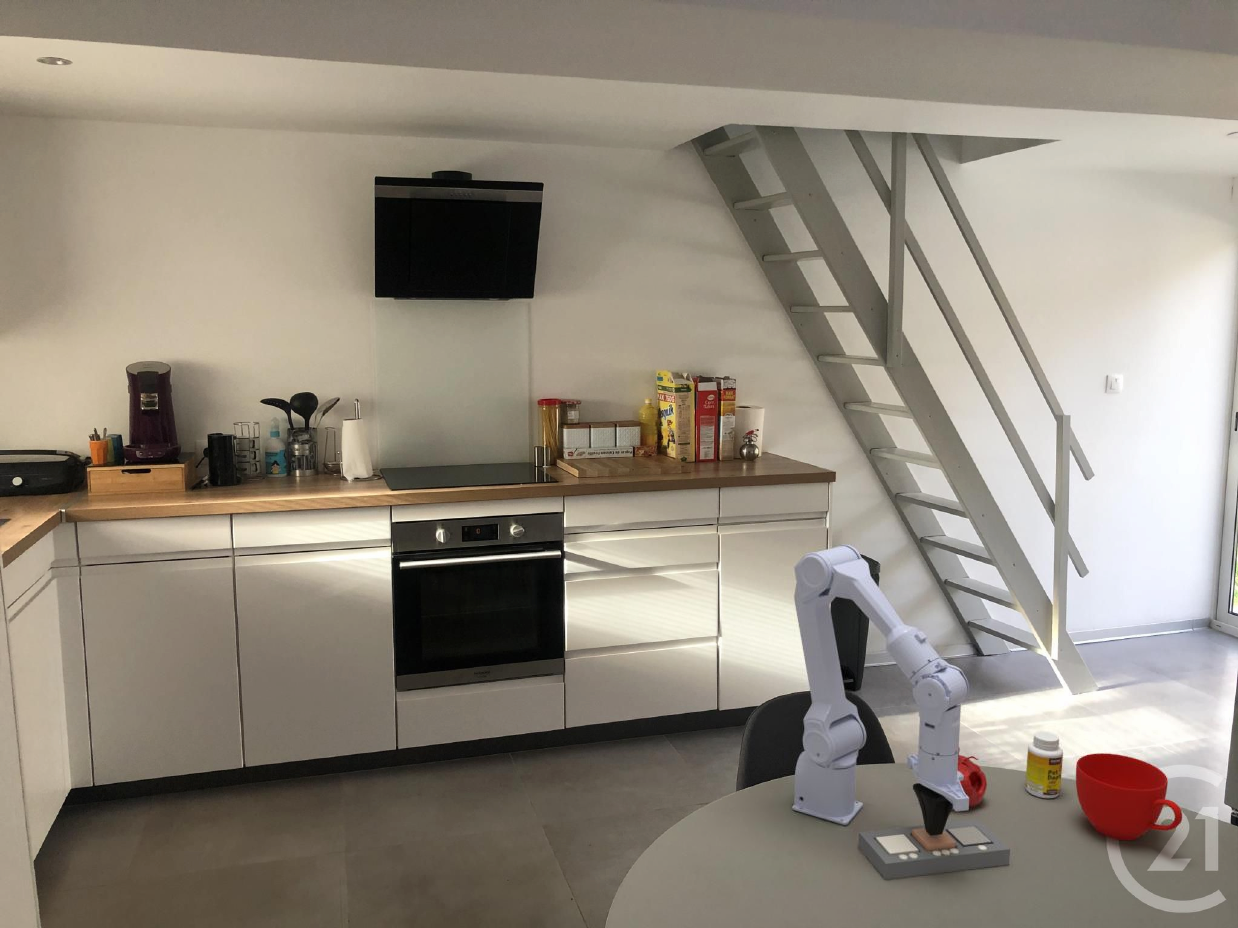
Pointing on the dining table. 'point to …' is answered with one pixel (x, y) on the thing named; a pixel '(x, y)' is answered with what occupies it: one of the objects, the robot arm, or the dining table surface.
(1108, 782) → the ceramic cup
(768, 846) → the dining table surface
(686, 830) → the dining table surface
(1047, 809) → the dining table surface
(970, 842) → the button one dot
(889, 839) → the button two dot
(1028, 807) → the dining table surface
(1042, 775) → the supplement bottle
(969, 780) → the red hollow rounded sculpture
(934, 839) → the button three dot
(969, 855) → the button panel
